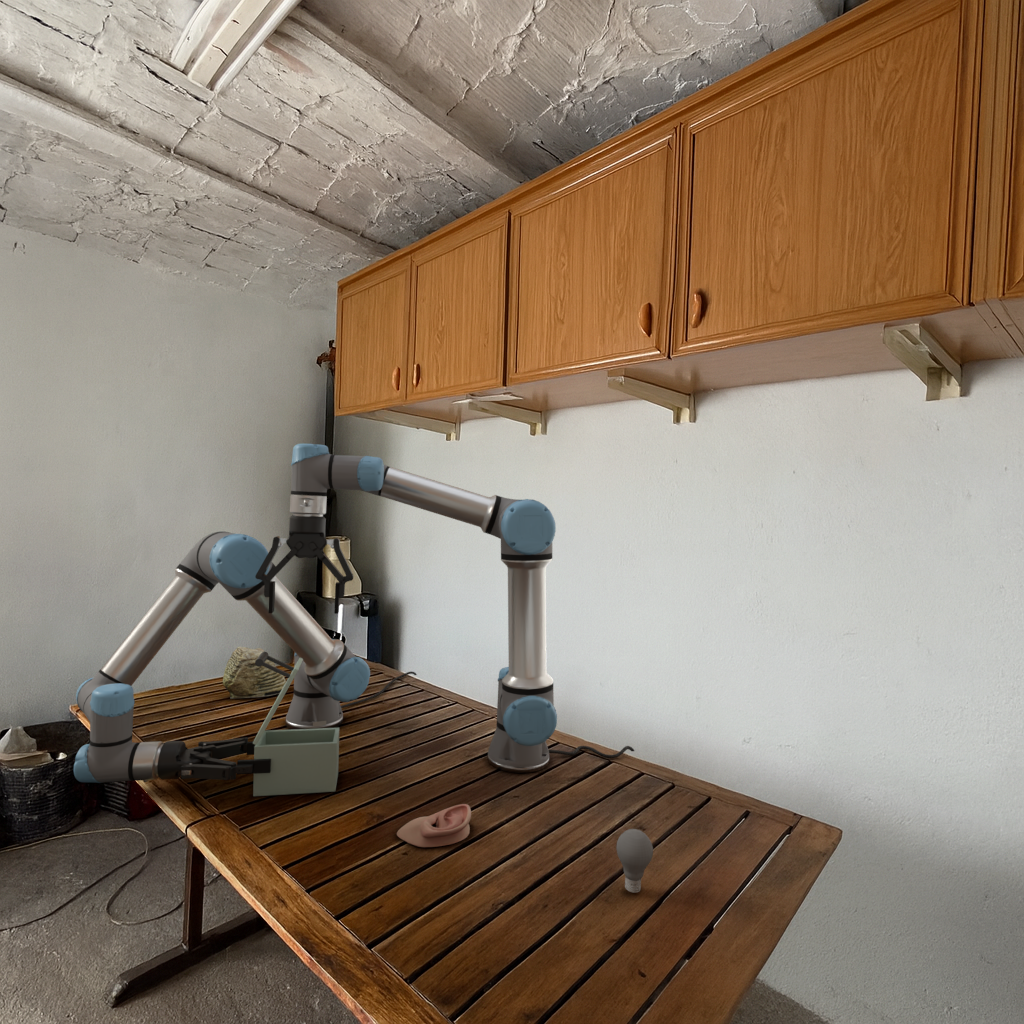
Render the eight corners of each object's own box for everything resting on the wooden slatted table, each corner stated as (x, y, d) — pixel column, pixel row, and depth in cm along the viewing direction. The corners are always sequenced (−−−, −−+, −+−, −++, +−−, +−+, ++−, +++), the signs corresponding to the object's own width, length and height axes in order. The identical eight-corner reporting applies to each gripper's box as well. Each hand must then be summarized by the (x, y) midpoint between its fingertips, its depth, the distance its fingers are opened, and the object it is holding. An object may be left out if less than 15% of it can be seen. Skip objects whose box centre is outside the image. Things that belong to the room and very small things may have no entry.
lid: (303, 659, 143) (267, 642, 141) (298, 670, 134) (260, 652, 132) (264, 729, 142) (227, 713, 140) (256, 745, 132) (217, 728, 131)
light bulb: (610, 879, 108) (613, 822, 108) (644, 879, 109) (647, 822, 109) (619, 902, 102) (622, 840, 102) (655, 901, 103) (658, 840, 103)
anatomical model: (391, 821, 117) (413, 793, 128) (390, 842, 117) (412, 813, 128) (460, 832, 114) (476, 802, 125) (459, 853, 114) (475, 822, 126)
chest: (338, 772, 145) (339, 727, 145) (335, 791, 136) (336, 743, 136) (261, 777, 142) (262, 730, 142) (253, 796, 133) (254, 746, 132)
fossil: (218, 695, 195) (220, 647, 195) (278, 685, 208) (279, 640, 207) (228, 703, 189) (230, 653, 188) (289, 692, 201) (290, 645, 201)
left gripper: (177, 757, 144) (281, 753, 149) (142, 803, 122) (264, 796, 127) (178, 724, 144) (282, 721, 148) (143, 764, 122) (266, 759, 127)
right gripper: (243, 513, 132) (239, 615, 132) (366, 518, 137) (362, 615, 137) (250, 512, 139) (247, 608, 139) (366, 516, 144) (363, 609, 144)
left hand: (274, 756), depth 138 cm, fingers closed on chest, 9 cm apart
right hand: (304, 612), depth 138 cm, fingers open, 13 cm apart
